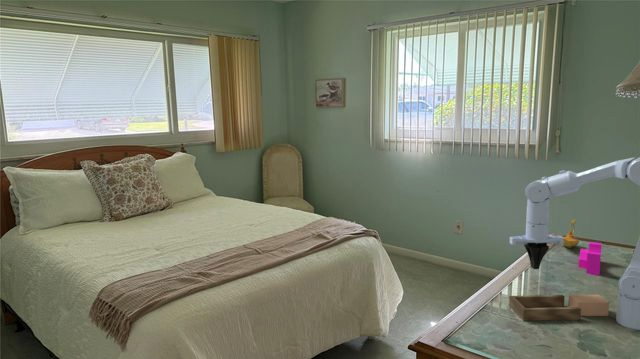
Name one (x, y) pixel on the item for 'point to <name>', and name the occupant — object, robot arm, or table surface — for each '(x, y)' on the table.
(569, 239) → the magic lamp
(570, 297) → the terracotta brick
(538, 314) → the walnut cubby
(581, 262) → the toy block
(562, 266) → the table surface
